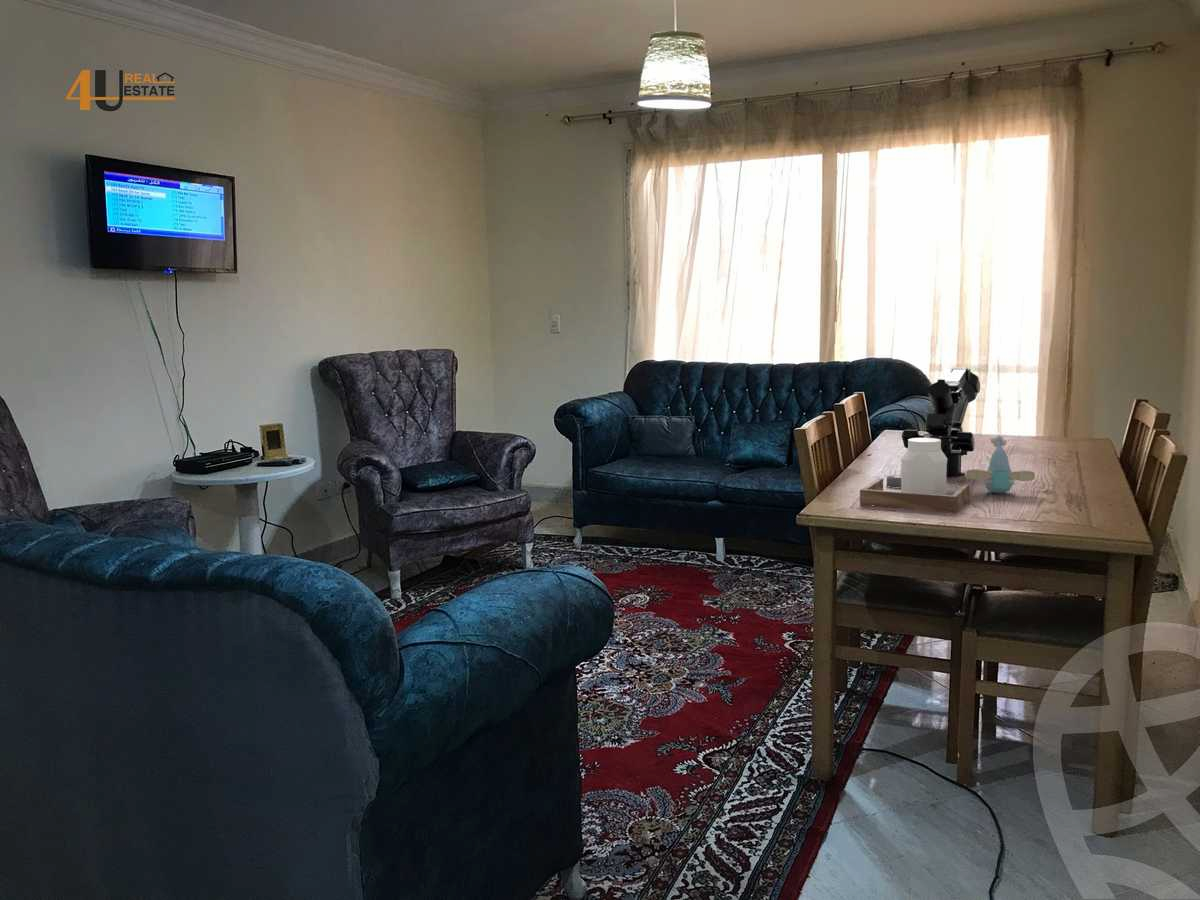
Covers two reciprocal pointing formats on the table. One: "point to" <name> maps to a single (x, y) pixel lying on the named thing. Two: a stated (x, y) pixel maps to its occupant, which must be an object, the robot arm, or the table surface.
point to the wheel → (894, 481)
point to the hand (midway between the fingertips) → (932, 464)
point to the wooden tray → (913, 498)
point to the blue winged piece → (999, 470)
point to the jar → (924, 467)
